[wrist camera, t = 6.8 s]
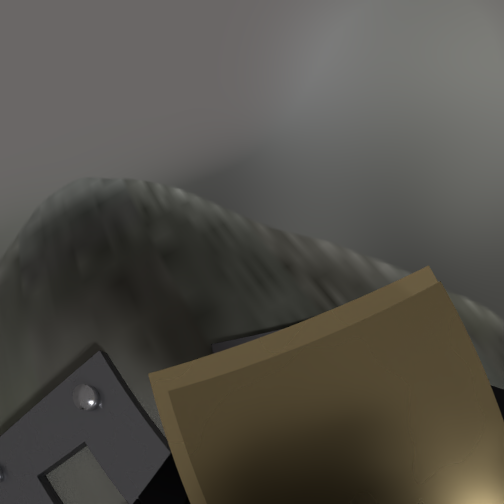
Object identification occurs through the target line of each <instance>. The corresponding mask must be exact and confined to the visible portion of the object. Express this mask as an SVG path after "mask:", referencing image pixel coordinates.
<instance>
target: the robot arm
mask: <svg viewBox="0 0 504 504" xmlns="http://www.w3.org/2000/svg"><path fill="white" fill-rule="evenodd" d="M491 388H492V390H493V393H494V396H495V398H496V401H497V404H498V406H499V409H500V412H501V415H502V418H503V421H504V390H503V389H500V388H497V387H494V386H491ZM133 504H191V503H190V501H189V498H188V496H187V493H186V491H185V488H184V486H183V483H182V480H181V478H180V475H179V472H178V470H177V467H176V464H175V461H174V458H173V455H172V453H170V454H169V456H168V457H167V458H166V460H165V461H164V463H163V464H162V465H161V467H160V468H159V469H158V471H157V472H156V473H155V475H154V476H153V478H152V479H151V480H150V482H149V483H148V484H147V486H146V487H145V488H144V490H143V491H142V492H141V494H140V495H139V496H138V499H136V500H135V501H134V503H133Z"/></svg>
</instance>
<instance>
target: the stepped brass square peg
mask: <svg viewBox="0 0 504 504" xmlns="http://www.w3.org/2000/svg"><path fill="white" fill-rule="evenodd" d="M148 375H149V379H150V383H151V386H152V390H153V394H154V397H155V401H156V405H157V408H158V411H159V415H160V418H161V421H162V425H163V428H164V431H165V434H166V437H167V441H168V444H169V447H170V450H171V453H172V455H173V458H174V461H175V464H176V467H177V470H178V472H179V475H180V478H181V480H182V483H183V486H184V488H185V491H186V493H187V496H188V498H189V501H190V503H191V504H504V421H503V418H502V415H501V412H500V409H499V406H498V404H497V401H496V398H495V396H494V393H493V390H492V388H491V385H490V383H489V380H488V378H487V375H486V373H485V371H484V368H483V366H482V364H481V361H480V359H479V357H478V354H477V352H476V350H475V348H474V346H473V344H472V341H471V339H470V337H469V335H468V333H467V331H466V329H465V327H464V325H463V323H462V321H461V319H460V317H459V315H458V313H457V311H456V309H455V307H454V305H453V303H452V301H451V299H450V298H449V296H448V294H447V292H446V290H445V288H444V287H443V285H442V283H441V282H438V281H437V279H436V278H435V276H434V274H433V272H432V270H431V269H430V267H429V266H427V267H425V268H423V269H421V270H419V271H417V272H415V273H412V274H410V275H408V276H406V277H404V278H402V279H400V280H398V281H396V282H393V283H391V284H389V285H387V286H385V287H383V288H380V289H378V290H376V291H374V292H372V293H369V294H367V295H365V296H363V297H360V298H358V299H356V300H353V301H351V302H349V303H346V304H344V305H342V306H339V307H337V308H335V309H332V310H330V311H327V312H325V313H322V314H320V315H318V316H315V317H313V318H310V319H308V320H305V321H302V322H300V323H297V324H295V325H292V326H290V327H287V328H284V329H282V330H279V331H276V332H274V333H271V334H268V335H266V336H263V337H260V338H258V339H255V340H252V341H249V342H246V343H243V344H241V345H238V346H235V347H232V348H229V349H226V350H223V351H220V352H217V353H214V354H211V355H208V356H205V357H202V358H199V359H196V360H193V361H189V362H186V363H183V364H180V365H177V366H173V367H170V368H167V369H163V370H160V371H156V372H153V373H149V374H148Z"/></svg>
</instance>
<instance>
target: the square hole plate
mask: <svg viewBox="0 0 504 504" xmlns="http://www.w3.org/2000/svg"><path fill="white" fill-rule="evenodd" d="M86 446H88V447H89V449H90V451H91V452H92V454H93V455H94V457H95V458H96V460H97V461H98V463H99V464H100V466H101V467H102V468H103V470H104V471H105V473H106V474H107V476H108V477H109V478H110V480H111V481H112V482H113V484H114V485H115V486H116V488H117V489H118V490H119V492H120V493H121V494H122V496H123V497H124V498H125V499H126V501H127V502H128V503H129V504H133V503H134V501H135V500H136V499H138V496H139V495H140V494H141V492H142V491H143V490H144V488H145V487H146V486H147V484H148V483H149V482H150V480H151V479H152V478H153V476H154V475H155V473H156V472H157V471H158V469H159V468H160V467H161V465H162V464H163V463H164V461H165V460H166V458H167V457H168V456H169V454H170V453H171V450H170V447H169V444H168V441H167V439H166V438H165V437H164V435H163V434H162V433H161V431H160V430H159V429H158V428H157V426H156V425H155V424H154V422H153V421H152V420H151V418H150V417H149V416H148V414H147V413H146V412H145V410H144V409H143V407H142V406H141V405H140V403H139V402H138V400H137V399H136V397H135V396H134V395H133V393H132V392H131V390H130V389H129V387H128V386H127V384H126V383H125V381H124V380H123V378H122V377H121V375H120V374H119V372H118V370H117V369H116V367H115V366H114V364H113V363H112V361H111V359H110V358H109V356H108V354H107V353H104V352H102V351H100V350H99V351H98V352H97V353H96V354H95V355H93V356H92V357H91V358H90V359H89V360H87V361H86V362H85V363H84V364H83V365H82V366H80V367H79V368H78V369H77V370H76V371H75V372H73V373H72V374H71V375H70V376H69V377H68V378H66V379H65V380H64V381H63V382H62V383H61V384H59V385H58V386H57V387H56V388H55V389H54V390H53V391H51V392H50V393H49V394H48V395H47V396H46V397H44V398H43V399H42V400H41V401H40V402H39V403H38V404H36V405H35V406H34V407H33V408H32V409H31V410H30V411H28V412H27V413H26V414H25V415H24V416H23V417H22V418H21V419H19V420H18V421H17V422H16V423H15V424H14V425H13V426H12V427H10V428H9V429H8V430H7V431H6V432H5V433H4V434H3V435H1V436H0V504H63V503H62V501H61V500H60V498H59V497H58V495H57V494H56V492H55V490H54V489H53V487H52V486H51V484H50V482H49V481H48V479H47V477H46V476H45V475H46V474H48V473H49V472H51V471H52V470H54V469H55V468H56V467H58V466H59V465H61V464H62V463H63V462H65V461H66V460H68V459H69V458H70V457H72V456H73V455H75V454H76V453H77V452H79V451H80V450H81V449H83V448H84V447H86Z"/></svg>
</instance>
